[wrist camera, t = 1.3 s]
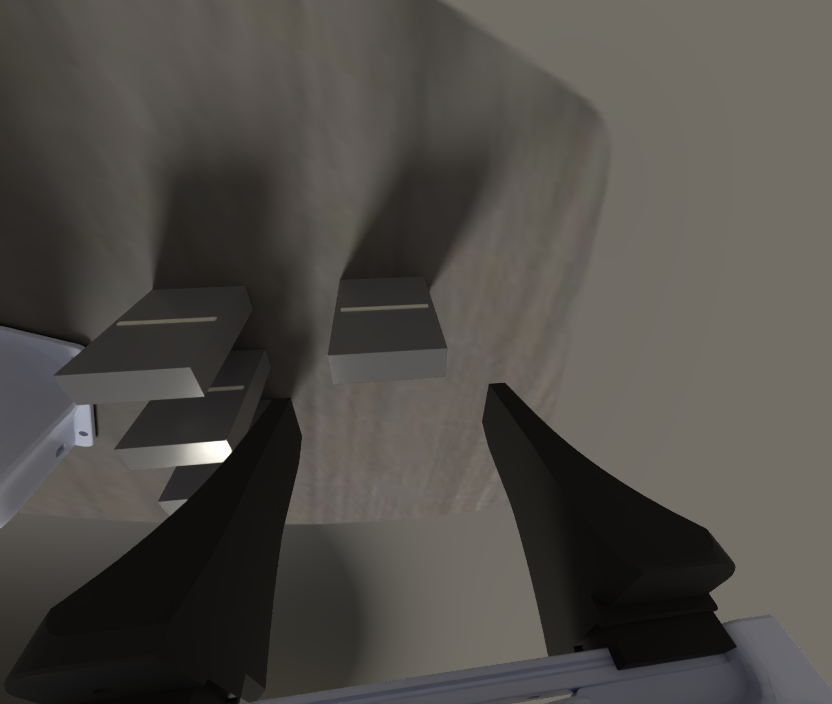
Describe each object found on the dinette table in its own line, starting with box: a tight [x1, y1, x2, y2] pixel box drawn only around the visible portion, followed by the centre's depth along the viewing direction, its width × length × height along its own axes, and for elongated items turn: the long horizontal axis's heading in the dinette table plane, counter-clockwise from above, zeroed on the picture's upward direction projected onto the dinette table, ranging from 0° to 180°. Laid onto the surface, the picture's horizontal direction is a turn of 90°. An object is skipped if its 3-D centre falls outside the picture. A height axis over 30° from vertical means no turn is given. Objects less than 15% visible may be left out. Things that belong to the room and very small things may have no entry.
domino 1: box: [53, 286, 253, 405], centre depth 17 cm, size 2×5×8 cm, turn 90°
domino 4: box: [328, 276, 447, 385], centre depth 18 cm, size 2×5×8 cm, turn 90°
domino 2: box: [114, 349, 271, 470], centre depth 19 cm, size 2×5×8 cm, turn 90°
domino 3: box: [158, 398, 281, 516], centre depth 22 cm, size 2×5×8 cm, turn 89°
